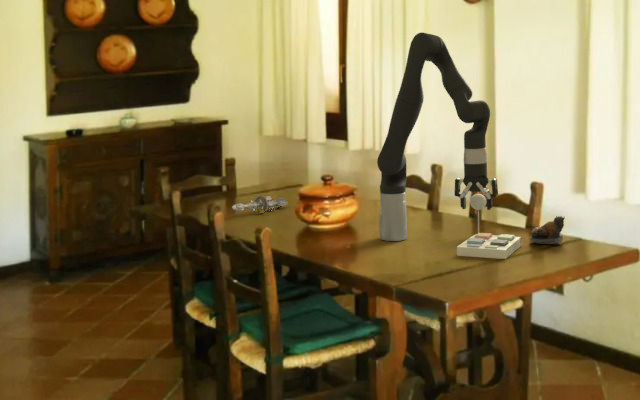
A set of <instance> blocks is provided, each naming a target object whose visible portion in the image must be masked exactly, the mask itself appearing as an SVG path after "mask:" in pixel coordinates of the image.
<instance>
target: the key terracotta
mask: <svg viewBox="0 0 640 400" xmlns="http://www.w3.org/2000/svg"><path fill="white" fill-rule="evenodd" d="M475 234H476V235H475ZM475 234H474V235H475V238H483V239H487V240H489V239H490V238H491V237H492V235H493V233H490V232H489V233H488V232H479V233H478V232H477V233H475Z"/></svg>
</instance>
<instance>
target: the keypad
mask: <svg viewBox="0 0 640 400" xmlns="http://www.w3.org/2000/svg"><path fill="white" fill-rule="evenodd" d="M476 234H477V233H475V234H473V235H471V237H469V238H467V239H466V240H465V241H463V242H462V243H460V244H458V246H456V256H458V257H470V258H471V257H472V258H486V259H498V260H500V259H501V260H506V259H508V258H509V257H510V255H512V254H513V253H515V252H516V250H518V249H520V247H521V246H522V236H515V235H514V239H513V240H512V241H508V244H507V245H506V246H495V245H490V242H491V241H493V240H494V239H497V237H498V236H499V235H500V234H499V235H497V234H495V235H494V234H492V237H491V238H490V239H489V240H487V239H485V243H483V244H482V245H480V244H467V241H468V240H469V239H470V238H475V235H476Z"/></svg>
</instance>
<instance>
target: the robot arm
mask: <svg viewBox="0 0 640 400" xmlns="http://www.w3.org/2000/svg"><path fill="white" fill-rule="evenodd" d="M406 59H407V60H406V65H405V69H404V73H403V76H402V80H401V83H400V86H399V91H398V93H397V97H396V99H395V103H394V106H393V110H392V114H391V118H390V122H389V125H388V130H387V131H388V132H387V135H386V137H385V141H384V143H383V145H382V148H381V149H380V152H379V154H378V157H377V162H376V163H377V168H378V170H379V171H380V172H381V175H380V176H381V179H380V180H381V181H380V184H379V193H380V195H379V198H380V213H378V226H379V227H378V228H379V229H378V230H379V240H381V241H382V240H383V241H387V242H398V241H405V240H407V239H408V226H407V225H408V223H407V221H408V220H407V195H406V193H407V192H406V189H407V188H406V187H407V157H406V155H405V149H406V145H407V142H408V139H409V137H410V135H411V133H412V131H413V129H414V127H415V125H416V123H417V121H418V118H419V116H420V113H421V110H422V107H423V103H424V90H423V83H422V73H423V70H424V65H425V62H431V63H432V64H433V65H435V67H436V68H437V69H438V70H439V73H440V74H441V82H442V86H443V88H444V89H445V91H446V93H447V94H448V96H449V97H450V99H451V100H452V102H453V106H454V108H455V111H456V114H457V117H458V119H459V120H460V121H461V122H463V123H465V124H472V123H473V125H472V127H471V128H470V129H469V130H466V131H464V134H463V148H464V150H463V171H464V172H463V175H464V177H463V178H460V177H457V178H455V180H454V197H458V198H459V199H460V200H459V201H460V208H461V209H462V210H466V209H467V197H466V196H467V195H468V193H469V192H471V193H474V192H477V193H481V192H482V193H483V194H482V195H484V196H485V198H486V205H487V206H486V209H487V211H490V210H491V209H492V208H493V206H494V205H493V203H494V202H493V199H494V198H496V197H497V196H498V195H499V190H498V189H499V188H498V180H497V178H496V177H495V178H491V179H490V178H488V161H487V160H488V157H487V155H488V154H487V148H486V144H487V143H486V134H487V131H488V128H489V126H488V125H489V123H490V122H489V121H490V117H491V109H490V106H489V104H488V102H486V101H485V100H472V101H470V100H471V99H472V97H473V91H472V89H471V87H470V85H469V84H468V82H467V81H466V79H465V78H464V77H463V76H462V74H461V73H460V71H459V69H458V68H457V66H456V64H455V62H454V60H453V58H452V56H451V54H450V51H449V49H448V48H447V45H446V43H445V41H444V40H443V39H442V37H440V36H439V35H436V34H431V33H427V32H422V31H421V32H418V33H416V34H415V35H414V36H413V37H412V40H411V42H410V45H409V50H408V54H407V58H406ZM462 184H464V185H465V188H464V189H463V191H462V192H461V186H462ZM488 184H489V186H491V191H490V188H488V187H487V185H488ZM491 192H492V193H491Z"/></svg>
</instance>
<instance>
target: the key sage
mask: <svg viewBox="0 0 640 400" xmlns="http://www.w3.org/2000/svg"><path fill="white" fill-rule="evenodd" d="M514 236H515V234H509V233H508V234H506V233H505V234H503V233H501V234H499V236H498V237H497V239H499V240H508V241H512V240H513V239H514Z"/></svg>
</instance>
